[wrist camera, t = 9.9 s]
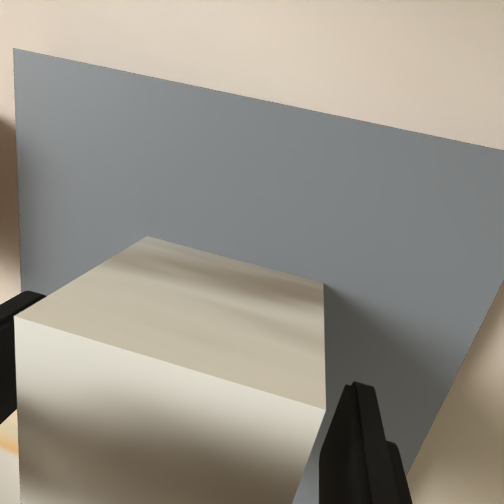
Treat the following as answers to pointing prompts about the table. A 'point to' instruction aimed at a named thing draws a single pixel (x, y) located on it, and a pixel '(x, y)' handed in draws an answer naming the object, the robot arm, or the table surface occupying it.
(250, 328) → the cream block
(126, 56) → the table surface
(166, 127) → the base board
